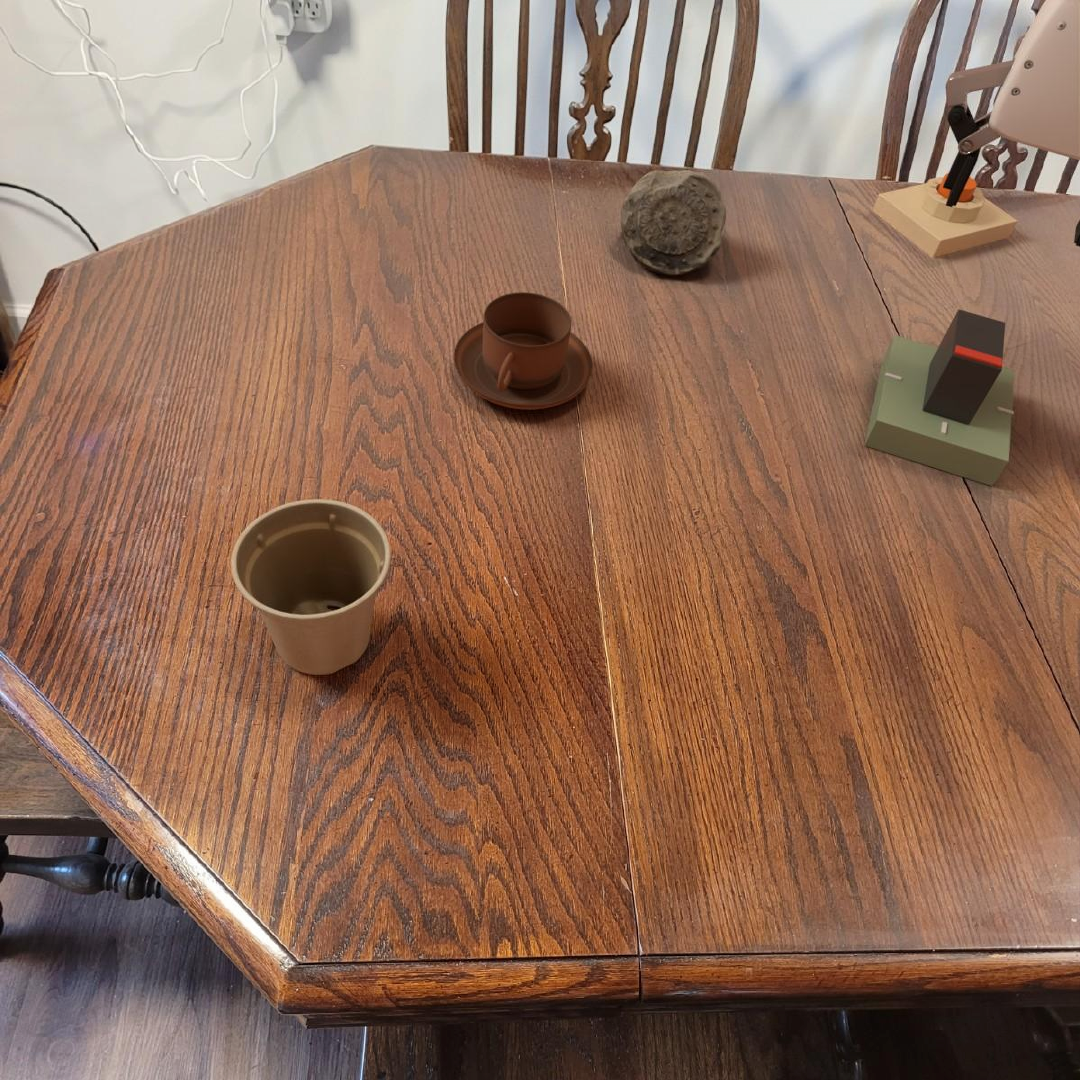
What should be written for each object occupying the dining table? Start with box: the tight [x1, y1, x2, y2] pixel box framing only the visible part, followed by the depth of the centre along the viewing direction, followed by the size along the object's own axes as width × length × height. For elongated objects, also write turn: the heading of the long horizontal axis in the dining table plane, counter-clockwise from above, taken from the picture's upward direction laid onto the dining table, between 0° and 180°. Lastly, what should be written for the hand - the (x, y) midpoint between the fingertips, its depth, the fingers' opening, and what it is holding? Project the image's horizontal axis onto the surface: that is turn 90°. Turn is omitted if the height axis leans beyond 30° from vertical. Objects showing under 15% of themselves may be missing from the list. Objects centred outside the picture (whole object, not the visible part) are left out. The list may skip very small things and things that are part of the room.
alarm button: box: [938, 172, 978, 203], centre depth 104 cm, size 4×4×2 cm
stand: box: [863, 334, 1015, 487], centre depth 83 cm, size 13×11×3 cm
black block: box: [923, 309, 1006, 425], centre depth 80 cm, size 7×4×6 cm, turn 159°
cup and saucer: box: [453, 291, 593, 411], centre depth 80 cm, size 12×12×6 cm
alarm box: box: [871, 176, 1018, 259], centre depth 106 cm, size 12×10×4 cm
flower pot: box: [230, 498, 392, 676], centre depth 60 cm, size 9×9×9 cm
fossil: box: [620, 169, 727, 277], centre depth 96 cm, size 11×9×10 cm
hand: (1014, 218), depth 72 cm, fingers open, 9 cm apart
